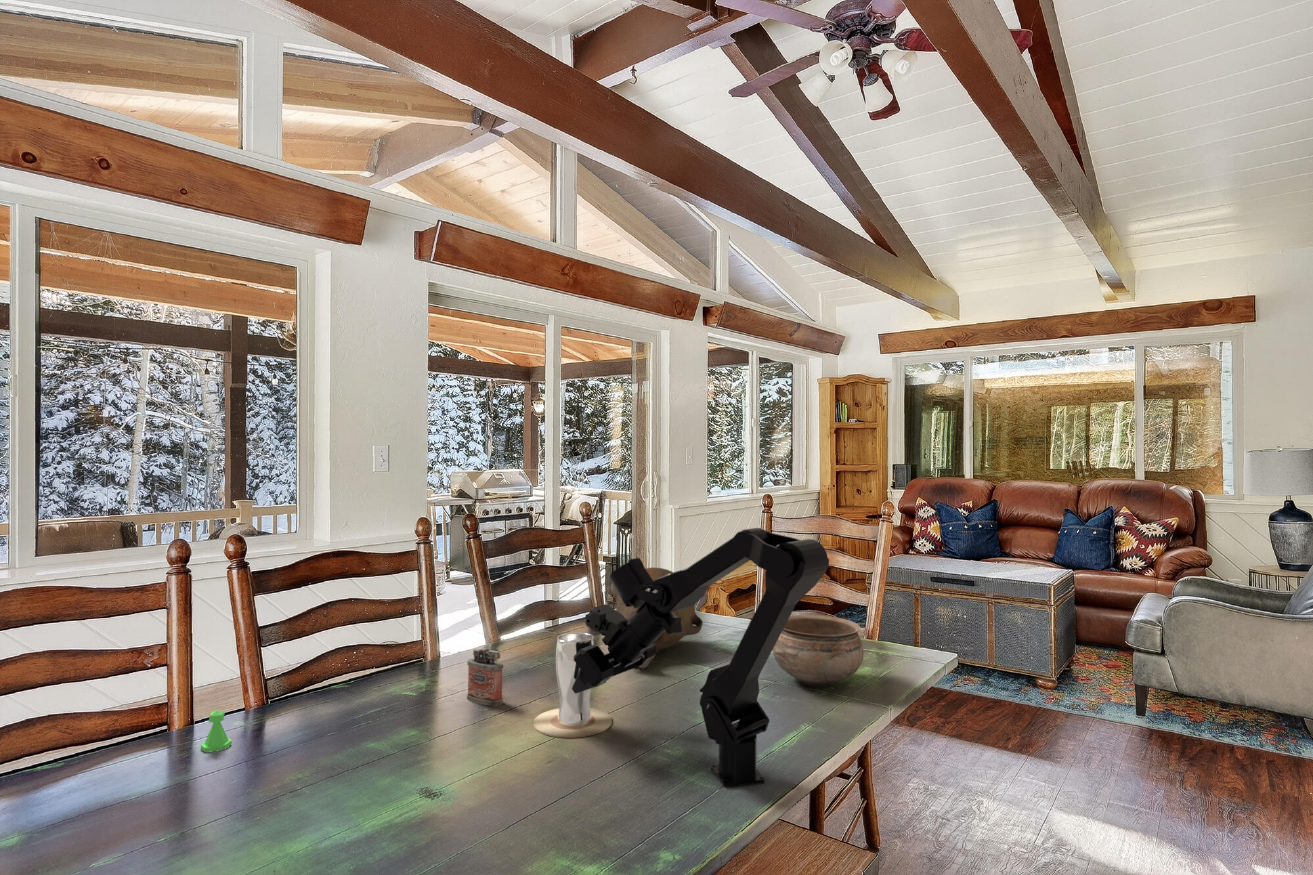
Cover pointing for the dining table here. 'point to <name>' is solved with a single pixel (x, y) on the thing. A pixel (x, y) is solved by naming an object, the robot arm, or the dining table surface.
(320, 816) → the dining table surface
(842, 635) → the cooking pot
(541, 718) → the coaster
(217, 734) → the game piece
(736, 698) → the robot arm
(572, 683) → the silver tall cup
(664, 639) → the jug
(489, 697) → the lighter
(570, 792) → the dining table surface
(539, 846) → the dining table surface
